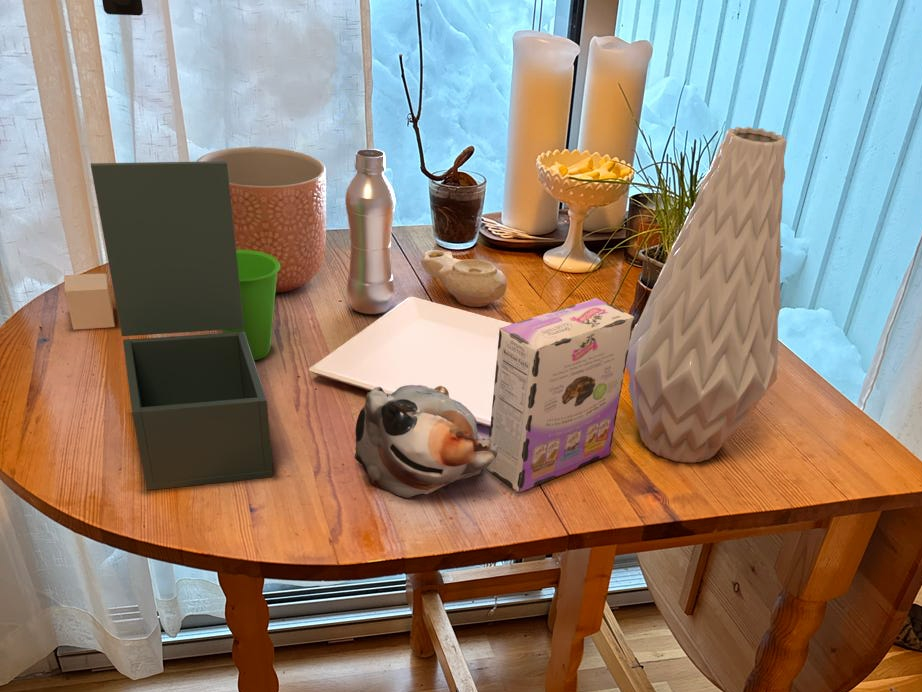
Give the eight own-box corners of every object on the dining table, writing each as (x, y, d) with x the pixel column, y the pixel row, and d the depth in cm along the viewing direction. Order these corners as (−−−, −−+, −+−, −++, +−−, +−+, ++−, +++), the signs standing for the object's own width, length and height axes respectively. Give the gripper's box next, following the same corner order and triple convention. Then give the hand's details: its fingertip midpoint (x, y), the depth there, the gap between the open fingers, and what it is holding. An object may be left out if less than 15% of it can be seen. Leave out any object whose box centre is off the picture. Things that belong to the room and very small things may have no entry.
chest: (273, 477, 99) (267, 400, 93) (146, 490, 95) (132, 412, 89) (251, 404, 110) (244, 331, 104) (136, 414, 106) (122, 339, 100)
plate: (585, 356, 125) (587, 341, 124) (505, 444, 107) (507, 428, 106) (409, 309, 132) (410, 294, 131) (307, 384, 114) (306, 368, 113)
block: (73, 330, 120) (64, 291, 116) (72, 313, 123) (64, 275, 120) (114, 327, 121) (107, 288, 118) (113, 311, 125) (105, 273, 121)
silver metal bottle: (403, 308, 132) (407, 153, 119) (375, 324, 128) (376, 165, 114) (366, 295, 134) (365, 141, 121) (337, 311, 130) (332, 153, 116)
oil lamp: (427, 273, 142) (429, 238, 139) (518, 292, 139) (522, 257, 136) (400, 298, 135) (401, 263, 131) (496, 319, 132) (499, 283, 128)
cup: (234, 375, 114) (225, 284, 107) (198, 345, 119) (187, 257, 112) (299, 357, 119) (294, 269, 112) (262, 330, 124) (255, 244, 116)
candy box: (574, 434, 110) (597, 295, 99) (610, 457, 107) (638, 315, 96) (483, 469, 103) (497, 323, 92) (519, 494, 100) (537, 346, 89)
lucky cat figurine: (500, 453, 105) (532, 382, 93) (456, 540, 101) (484, 477, 88) (378, 392, 105) (394, 311, 92) (329, 476, 100) (338, 404, 87)
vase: (776, 479, 106) (882, 164, 84) (636, 486, 103) (708, 160, 81) (719, 405, 118) (799, 112, 96) (592, 409, 115) (644, 107, 93)
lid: (227, 162, 93) (221, 153, 96) (90, 165, 89) (89, 154, 93) (244, 328, 103) (238, 314, 106) (122, 336, 99) (120, 321, 103)
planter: (335, 303, 132) (332, 187, 121) (209, 305, 128) (195, 186, 118) (322, 256, 144) (318, 147, 134) (206, 257, 140) (193, 145, 130)
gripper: (36, -266, 78) (78, -17, 90) (27, -266, 66) (77, 21, 78) (132, -255, 80) (161, -13, 92) (140, -253, 68) (172, 25, 80)
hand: (122, 3), depth 85 cm, fingers open, 9 cm apart
